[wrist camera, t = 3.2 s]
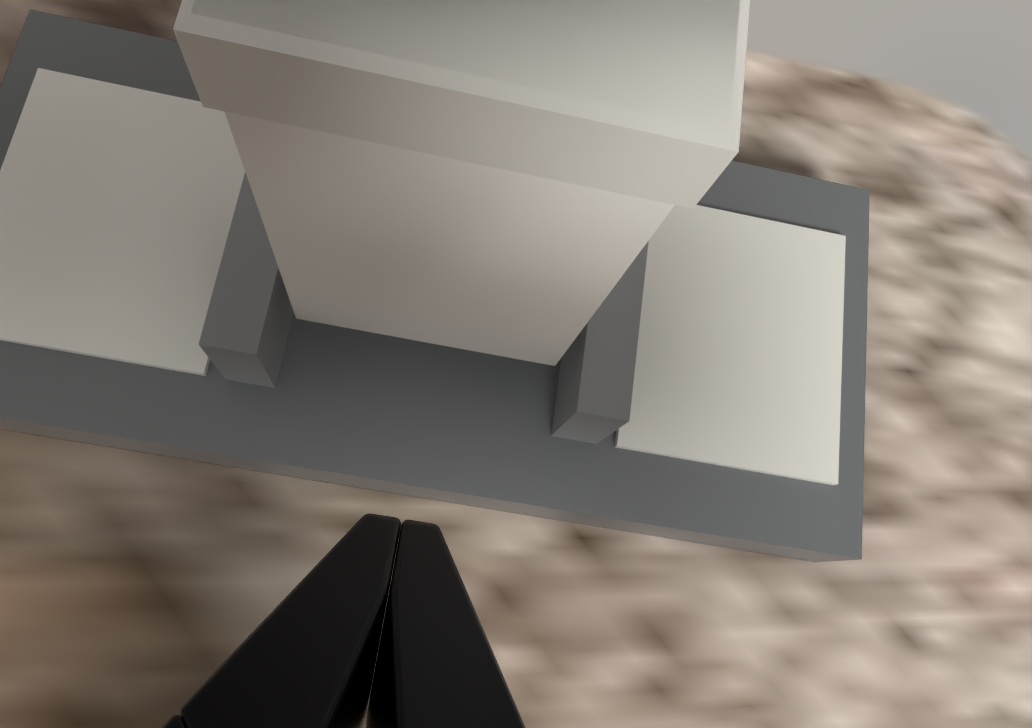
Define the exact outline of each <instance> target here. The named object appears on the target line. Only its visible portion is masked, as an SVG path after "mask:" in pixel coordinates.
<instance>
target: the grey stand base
mask: <svg viewBox="0 0 1032 728" xmlns="http://www.w3.org/2000/svg"><path fill="white" fill-rule="evenodd" d="M869 193H870V190H867V189H862V188H857V187H853V186H848V185H844V184H839V183H834V182H830V181H825V180H820V179H816V178H811V177H806V176H802V175H797V174H792V173H788V172H783V171H778V170H774V169H769V168H764V167H760V166H755V165H751V164H746V163H741V162H737V161H731V162H730V163H729V164H728V166H727V167H726V168H725V169H724V171H723V172H722V173H721V174H720V176H719V177H718V178H717V179H716V181H715V182H714V183H713V184H712V186H711V187H710V188H709V189H708V191H707V192H706V193H705V194H704V196H703V197H702V198H701V200H700V201H699V202H698V203H697V205H696V206H695V207H694V208H693V209H692V208H687V207H682V206H677V205H675V206H674V207H673V208H672V210H671V211H670V212H669V214H668V215H667V216H666V218H665V219H664V220H663V222H662V223H661V224H660V226H659V227H658V228H657V230H656V231H655V232H654V234H653V235H652V237H651V238H650V239H649V241H648V242H647V243H646V245H645V246H644V247H643V249H642V250H641V251H640V253H639V254H638V255H637V257H636V258H635V259H634V261H633V262H632V263H631V265H630V266H629V267H628V269H627V270H626V271H625V273H624V274H623V275H622V277H621V278H620V280H619V281H618V282H617V284H616V285H615V286H614V288H613V289H612V290H611V292H610V293H609V294H608V296H607V297H606V298H605V300H604V301H603V302H602V304H601V305H600V306H599V308H598V309H597V310H596V312H595V313H594V314H593V316H592V317H591V318H590V320H589V321H588V322H587V324H586V325H585V327H584V328H583V329H582V331H581V332H580V333H579V335H578V336H577V337H576V339H575V340H574V341H573V343H572V344H571V345H570V347H569V348H568V349H567V351H566V352H565V353H564V355H563V356H562V357H561V359H560V360H559V361H558V363H557V364H556V365H555V366H552V365H547V364H541V363H536V362H530V361H525V360H519V359H514V358H508V357H503V356H497V355H492V354H487V353H481V352H476V351H470V350H465V349H459V348H454V347H448V346H443V345H437V344H432V343H427V342H421V341H416V340H410V339H405V338H399V337H394V336H388V335H383V334H377V333H372V332H366V331H361V330H356V329H350V328H345V327H339V326H334V325H328V324H323V323H317V322H312V321H306V320H301V319H296V317H295V314H294V311H293V308H292V305H291V302H290V299H289V297H288V294H287V291H286V288H285V285H284V282H283V279H282V276H281V273H280V271H279V268H278V265H277V262H276V259H275V256H274V253H273V250H272V247H271V245H270V242H269V239H268V236H267V233H266V230H265V227H264V224H263V221H262V219H261V216H260V213H259V210H258V207H257V204H256V201H255V198H254V195H253V193H252V190H251V187H250V184H249V181H248V178H247V175H246V172H245V169H244V167H243V164H242V161H241V158H240V155H239V152H238V149H237V146H236V143H235V141H234V138H233V135H232V132H231V129H230V126H229V123H228V120H227V117H226V115H225V112H224V111H219V110H215V109H210V108H205V107H203V106H202V103H201V101H200V98H199V96H198V93H197V91H196V88H195V85H194V83H193V80H192V78H191V75H190V73H189V70H188V67H187V65H186V62H185V60H184V57H183V54H182V52H181V49H180V47H179V44H178V42H177V41H174V40H169V39H164V38H160V37H155V36H151V35H146V34H141V33H137V32H132V31H127V30H123V29H118V28H113V27H109V26H104V25H99V24H95V23H90V22H85V21H81V20H76V19H71V18H67V17H62V16H58V15H53V14H48V13H44V12H39V11H34V10H30V11H29V13H28V16H27V19H26V21H25V24H24V27H23V29H22V32H21V34H20V37H19V40H18V42H17V45H16V48H15V50H14V53H13V56H12V58H11V61H10V63H9V66H8V69H7V71H6V74H5V77H4V79H3V82H2V84H1V87H0V429H3V430H9V431H15V432H21V433H27V434H33V435H39V436H46V437H52V438H58V439H64V440H70V441H76V442H82V443H88V444H95V445H101V446H107V447H113V448H119V449H125V450H131V451H138V452H144V453H150V454H156V455H162V456H168V457H174V458H180V459H187V460H193V461H199V462H205V463H211V464H217V465H223V466H229V467H236V468H242V469H248V470H254V471H260V472H266V473H272V474H278V475H285V476H291V477H297V478H303V479H309V480H315V481H321V482H327V483H334V484H340V485H346V486H352V487H358V488H364V489H370V490H377V491H383V492H389V493H395V494H401V495H407V496H413V497H419V498H426V499H432V500H438V501H444V502H450V503H456V504H462V505H468V506H475V507H481V508H487V509H493V510H499V511H505V512H511V513H517V514H524V515H530V516H536V517H542V518H548V519H554V520H560V521H566V522H573V523H579V524H585V525H591V526H597V527H603V528H609V529H616V530H622V531H628V532H634V533H640V534H646V535H652V536H658V537H665V538H671V539H677V540H683V541H689V542H695V543H701V544H707V545H714V546H720V547H726V548H732V549H738V550H744V551H750V552H756V553H763V554H769V555H775V556H781V557H787V558H793V559H799V560H806V561H812V562H825V561H841V560H858V559H862V518H863V471H864V425H865V379H866V332H867V286H868V240H869Z"/></svg>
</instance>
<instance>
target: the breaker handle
mask: <svg viewBox="0 0 1032 728" xmlns="http://www.w3.org/2000/svg"><path fill="white" fill-rule="evenodd" d="M749 6H750V0H182V2H181V5H180V8H179V11H178V15H177V18H176V21H175V24H174V27H173V31H174V34H175V36H176V39H177V42H178V44H179V47H180V49H181V52H182V54H183V57H184V60H185V62H186V65H187V67H188V70H189V73H190V75H191V78H192V80H193V83H194V85H195V88H196V91H197V93H198V96H199V98H200V101H201V103H202V106H203V107H205V108H210V109H215V110H219V111H224V112H225V115H226V117H227V120H228V123H229V126H230V129H231V132H232V135H233V138H234V141H235V143H236V146H237V149H238V152H239V155H240V158H241V161H242V164H243V167H244V169H245V172H246V175H247V178H248V181H249V184H250V187H251V190H252V193H253V195H254V198H255V201H256V204H257V207H258V210H259V213H260V216H261V219H262V221H263V224H264V227H265V230H266V233H267V236H268V239H269V242H270V245H271V247H272V250H273V253H274V256H275V259H276V262H277V265H278V268H279V271H280V273H281V276H282V279H283V282H284V285H285V288H286V291H287V294H288V297H289V299H290V302H291V305H292V308H293V311H294V314H295V317H296V319H301V320H306V321H312V322H317V323H323V324H328V325H334V326H339V327H345V328H350V329H356V330H361V331H366V332H372V333H377V334H383V335H388V336H394V337H399V338H405V339H410V340H416V341H421V342H427V343H432V344H437V345H443V346H448V347H454V348H459V349H465V350H470V351H476V352H481V353H487V354H492V355H497V356H503V357H508V358H514V359H519V360H525V361H530V362H536V363H541V364H547V365H552V366H555V365H556V364H557V363H558V361H559V360H560V359H561V357H562V356H563V355H564V353H565V352H566V351H567V349H568V348H569V347H570V345H571V344H572V343H573V341H574V340H575V339H576V337H577V336H578V335H579V333H580V332H581V331H582V329H583V328H584V327H585V325H586V324H587V322H588V321H589V320H590V318H591V317H592V316H593V314H594V313H595V312H596V310H597V309H598V308H599V306H600V305H601V304H602V302H603V301H604V300H605V298H606V297H607V296H608V294H609V293H610V292H611V290H612V289H613V288H614V286H615V285H616V284H617V282H618V281H619V280H620V278H621V277H622V275H623V274H624V273H625V271H626V270H627V269H628V267H629V266H630V265H631V263H632V262H633V261H634V259H635V258H636V257H637V255H638V254H639V253H640V251H641V250H642V249H643V247H644V246H645V245H646V243H647V242H648V241H649V239H650V238H651V237H652V235H653V234H654V232H655V231H656V230H657V228H658V227H659V226H660V224H661V223H662V222H663V220H664V219H665V218H666V216H667V215H668V214H669V212H670V211H671V210H672V208H673V207H674V206H675V205H677V206H682V207H687V208H692V209H693V208H694V207H695V206H696V205H697V203H698V202H699V201H700V200H701V198H702V197H703V196H704V194H705V193H706V192H707V191H708V189H709V188H710V187H711V186H712V184H713V183H714V182H715V181H716V179H717V178H718V177H719V176H720V174H721V173H722V172H723V171H724V169H725V168H726V167H727V166H728V164H729V163H730V162H731V161H732V159H733V158H734V157H735V156H736V154H737V153H738V152H739V140H740V127H741V113H742V100H743V86H744V73H745V59H746V46H747V32H748V19H749Z"/></svg>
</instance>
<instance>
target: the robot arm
mask: <svg viewBox="0 0 1032 728" xmlns="http://www.w3.org/2000/svg"><path fill="white" fill-rule="evenodd" d="M400 527H401V530H400ZM399 533H400V535H399ZM398 538H399V541H398ZM397 544H398V546H397ZM396 549H397V552H396ZM395 555H396V557H395ZM394 560H395V562H394ZM393 565H394V568H393ZM392 571H393V573H392ZM391 576H392V579H391ZM390 582H391V584H390ZM389 587H390V590H389ZM388 593H389V595H388ZM387 598H388V601H387ZM386 604H387V606H386ZM385 609H386V611H385ZM384 614H385V617H384ZM383 620H384V622H383ZM382 625H383V628H382ZM381 631H382V633H381ZM380 636H381V639H380ZM379 642H380V644H379ZM378 647H379V650H378ZM377 652H378V655H377ZM376 658H377V661H376ZM375 663H376V666H375ZM374 669H375V671H374ZM373 674H374V677H373ZM372 680H373V682H372ZM371 685H372V688H371ZM370 691H371V693H370ZM369 696H370V700H369ZM368 700H369V706H368V713H367V723H366V728H525V726H524V723H523V721H522V719H521V716H520V714H519V712H518V709H517V707H516V705H515V702H514V700H513V698H512V695H511V693H510V691H509V688H508V686H507V684H506V681H505V679H504V677H503V674H502V672H501V670H500V667H499V665H498V663H497V660H496V658H495V656H494V653H493V651H492V649H491V647H490V644H489V642H488V640H487V637H486V635H485V633H484V630H483V628H482V626H481V623H480V621H479V619H478V616H477V614H476V612H475V609H474V607H473V605H472V602H471V600H470V598H469V595H468V593H467V591H466V588H465V586H464V584H463V581H462V579H461V577H460V574H459V572H458V570H457V567H456V565H455V563H454V560H453V558H452V556H451V553H450V551H449V549H448V546H447V544H446V542H445V539H444V537H443V535H442V532H441V530H440V528H439V527H438V526H437V525H435V524H432V523H426V522H420V521H414V520H405V521H404V522H403V523H402V525H401V522H400V520H399V519H398V518H395V517H389V516H383V515H376V514H366V515H364V516H363V517H362V518H361V519H360V520H359V521H358V522H357V523H356V524H355V525H354V526H353V527H352V528H351V529H350V530H349V531H348V533H347V534H346V535H345V536H344V537H343V538H342V539H341V540H340V541H339V542H338V543H337V544H336V545H335V546H334V547H333V548H332V549H331V550H330V551H329V553H328V554H327V555H326V556H325V557H324V558H323V559H322V560H321V561H320V562H319V563H318V564H317V565H316V566H315V567H314V568H313V569H312V570H311V571H310V573H309V574H308V575H307V576H306V577H305V578H304V579H303V580H302V581H301V582H300V583H299V584H298V585H297V586H296V587H295V588H294V589H293V590H292V591H291V593H290V594H289V595H288V596H287V597H286V598H285V599H284V600H283V601H282V602H281V603H280V604H279V605H278V606H277V607H276V608H275V609H274V610H273V611H272V613H271V614H270V615H269V616H268V617H267V618H266V619H265V620H264V621H263V622H262V623H261V624H260V625H259V626H258V627H257V628H256V629H255V630H254V631H253V633H252V634H251V635H250V636H249V637H248V638H247V639H246V640H245V641H244V642H243V643H242V644H241V645H240V646H239V647H238V648H237V649H236V650H235V651H234V652H233V654H232V655H231V656H230V657H229V658H228V659H227V660H226V661H225V662H224V663H223V664H222V665H221V666H220V667H219V668H218V669H217V670H216V671H215V672H214V674H213V675H212V676H211V677H210V678H209V679H208V680H207V681H206V682H205V683H204V684H203V685H202V686H201V687H200V688H199V689H198V690H197V691H196V692H195V694H194V695H193V696H192V697H191V698H190V699H189V700H188V701H187V702H186V703H185V704H184V705H183V706H182V707H181V708H180V710H179V715H174V716H172V717H171V718H170V719H169V720H168V721H167V722H166V724H165V725H164V726H163V727H162V728H362V725H363V721H364V718H365V714H366V710H367V705H368Z"/></svg>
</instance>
